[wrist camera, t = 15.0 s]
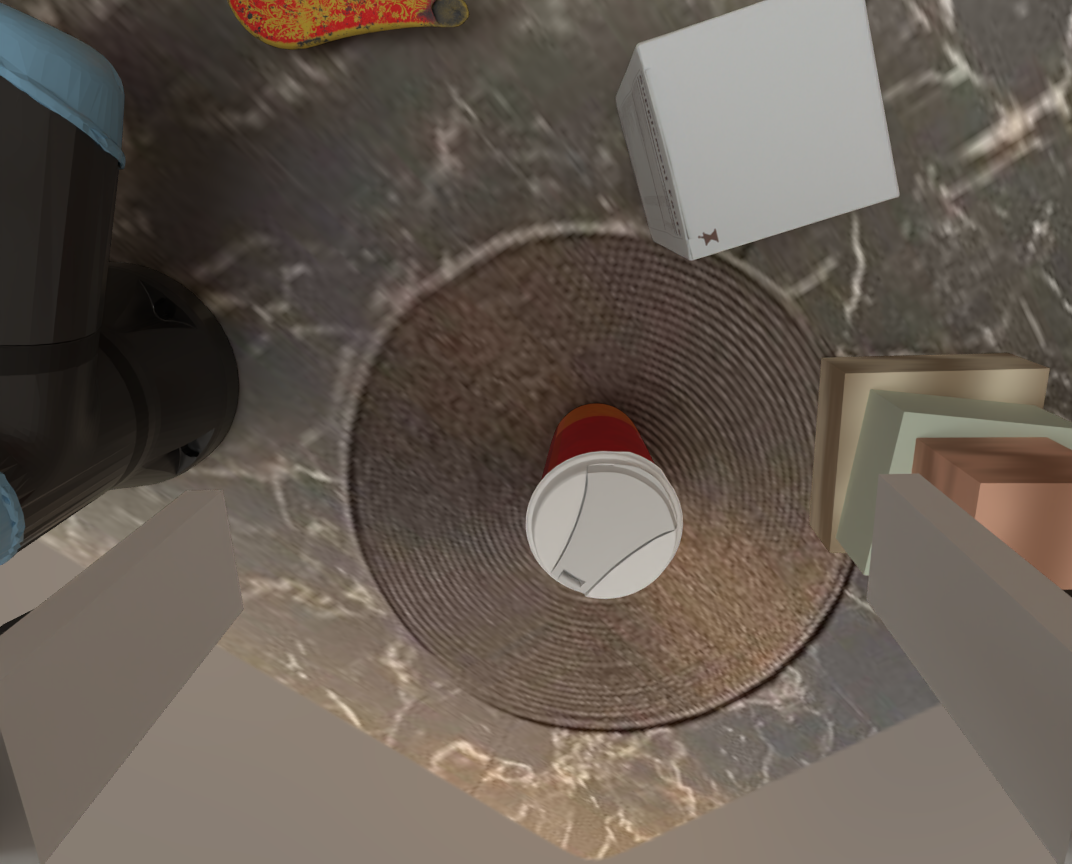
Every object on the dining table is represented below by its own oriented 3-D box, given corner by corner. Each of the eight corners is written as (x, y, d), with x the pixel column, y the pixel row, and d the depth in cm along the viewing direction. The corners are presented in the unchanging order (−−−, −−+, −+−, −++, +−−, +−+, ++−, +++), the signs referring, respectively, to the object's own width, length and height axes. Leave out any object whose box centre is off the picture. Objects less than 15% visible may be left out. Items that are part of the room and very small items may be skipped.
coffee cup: (610, 519, 55) (624, 635, 41) (513, 458, 54) (493, 555, 40) (680, 427, 53) (721, 515, 38) (581, 361, 52) (585, 426, 37)
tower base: (807, 521, 55) (829, 553, 50) (819, 356, 51) (845, 373, 47) (979, 518, 54) (1019, 550, 50) (1004, 351, 51) (1049, 368, 46)
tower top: (835, 538, 50) (863, 574, 45) (870, 389, 47) (904, 411, 42) (990, 553, 50) (1034, 592, 45) (1035, 405, 47) (1087, 430, 42)
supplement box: (795, 201, 48) (908, 206, 32) (652, 246, 49) (691, 273, 33) (761, 39, 46) (865, -43, 29) (611, 91, 47) (632, 39, 31)
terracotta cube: (900, 552, 45) (958, 616, 38) (916, 437, 42) (980, 483, 36) (1024, 553, 44) (1105, 617, 38) (1046, 437, 42) (1136, 483, 35)
